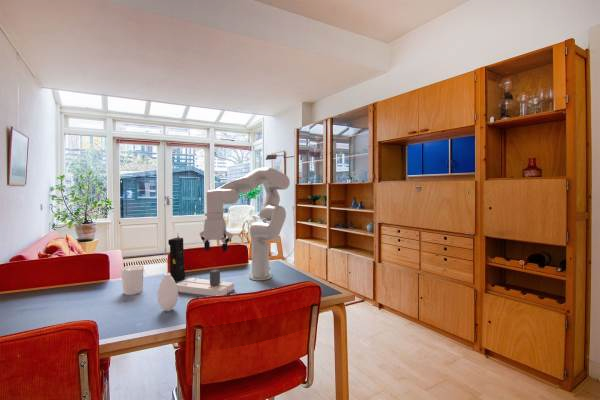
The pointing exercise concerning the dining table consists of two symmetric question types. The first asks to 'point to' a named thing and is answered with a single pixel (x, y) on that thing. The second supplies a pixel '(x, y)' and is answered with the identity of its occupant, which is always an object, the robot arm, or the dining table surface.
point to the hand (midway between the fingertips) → (215, 251)
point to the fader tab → (214, 277)
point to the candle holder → (132, 279)
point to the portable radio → (176, 258)
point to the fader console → (204, 287)
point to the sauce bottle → (167, 293)
